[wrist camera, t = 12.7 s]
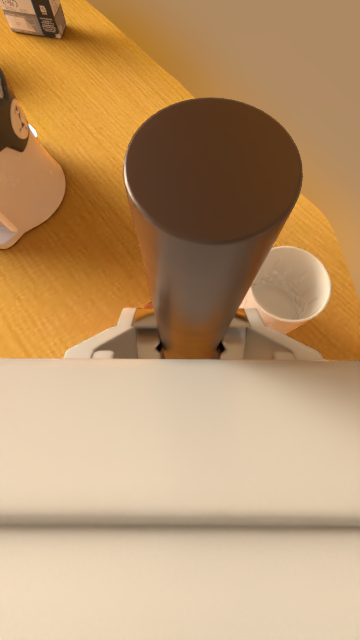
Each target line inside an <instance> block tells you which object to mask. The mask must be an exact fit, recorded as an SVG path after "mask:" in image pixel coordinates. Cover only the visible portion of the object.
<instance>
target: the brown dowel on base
mask: <svg viewBox="0 0 360 640" xmlns="http://www.w3.org/2000/svg"><path fill="white" fill-rule="evenodd" d="M302 175H303V174H302V163H301V158H300V154H299V151H298V149H297V146H296V145H295V143H294V141H293V139H292V138H291V136H290V135H289V133H288V132H287V131H286V130H285V129H284V127H283V126H281V124H280V123H279V122H277V121H276V120H275V119H274V118H272V117H271V116H270V115H268V114H266V113H265V112H263V111H262V110H260V109H257V108H255V107H253V106H251V105H248V104H246V103H243V102H239V101H235V100H231V99H224V98H196V99H190V100H185V101H181V102H178V103H175V104H173V105H170V106H168V107H166V108H164V109H162V110H160V111H158V112H157V113H155V114H154V115H152V116H151V117H150V118H149V119H147V120H146V121H145V122H144V123H143V124H142V125H141V126H140V127H139V128H138V130H137V131H136V132H135V134H134V135H133V137H132V139H131V141H130V143H129V145H128V148H127V151H126V154H125V157H124V164H123V177H124V183H125V188H126V192H127V197H128V201H129V205H130V210H131V214H132V218H133V223H134V227H135V231H136V236H137V240H138V244H139V248H140V253H141V257H142V261H143V266H144V270H145V274H146V279H147V283H148V287H149V291H150V296H151V300H152V304H153V309H154V313H155V317H156V322H157V326H158V330H159V335H160V339H161V343H162V352H161V355H162V359H218V353H217V351H216V349H217V347H218V345H219V344H220V342H221V340H222V338H223V336H224V334H225V333H226V331H227V329H228V327H229V325H230V323H231V321H232V320H233V318H234V316H235V314H236V312H237V310H238V309H239V307H240V305H241V303H242V301H243V299H244V298H245V296H246V294H247V292H248V290H249V288H250V287H251V285H252V283H253V281H254V279H255V277H256V276H257V274H258V272H259V270H260V268H261V266H262V265H263V263H264V261H265V259H266V257H267V255H268V253H269V252H270V250H271V248H272V246H273V244H274V242H275V241H276V239H277V237H278V235H279V233H280V231H281V230H282V228H283V226H284V224H285V222H286V220H287V219H288V217H289V215H290V213H291V211H292V209H293V208H294V206H295V204H296V201H297V199H298V197H299V194H300V191H301V186H302V177H303V176H302Z"/></svg>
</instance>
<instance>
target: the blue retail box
mask: <svg viewBox="0 0 360 640" xmlns="http://www.w3.org/2000/svg"><path fill="white" fill-rule="evenodd" d="M0 5H1V7H2V9H3V12H4V14H5V16H6V19H7V21H8V23H9V26H10V28H11V30H12V31H14V32H21V33H27V34H34V35H41V36H48V37H54V38H59V39H61V37H62V35H63V33H64V30H65V28H66V21H65V18H64V14H63V11H62V7H61V4H60V0H0Z"/></svg>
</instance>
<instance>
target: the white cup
mask: <svg viewBox="0 0 360 640" xmlns="http://www.w3.org/2000/svg"><path fill="white" fill-rule="evenodd" d="M331 289H332V287H331V280H330V276H329V274H328V271H327V270H326V268H325V266H324V265H323V264H322V262H321V261H320V260H319V259H318V258H317V257H315V256H314V255H313V254H311V253H310V252H308V251H306V250H304V249H301V248H298V247H293V246H278V247H274V248H271V250H270V252H269V253H268V255H267V257H266V259H265V261H264V263H263V265H262V266H261V268H260V270H259V272H258V274H257V276H256V277H255V279H254V281H253V283H252V285H251V287H250V288H249V290H248V292H247V294H246V296H245V298H244V299H243V301H242V303H241V305H240V307H239V308H244V309H247V308H256V309H257V310H258V312H259V314H260V316H261V318H262V320H263V322H264V324H265V326H266V327H271V328H273V329H275V330H277V331H279V332H281V333H283V334H287V333H288V332H290V331H292V330H294V329H296V328H298V327H299V326H301V325H303V324H304V323H306V322H308V321H309V320H311V319H313V318H314V317H316V316H317V315H319V314H320V313H321V312H322V311H323V310H324V309H325V307H326V306H327V304H328V302H329V300H330V296H331Z"/></svg>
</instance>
